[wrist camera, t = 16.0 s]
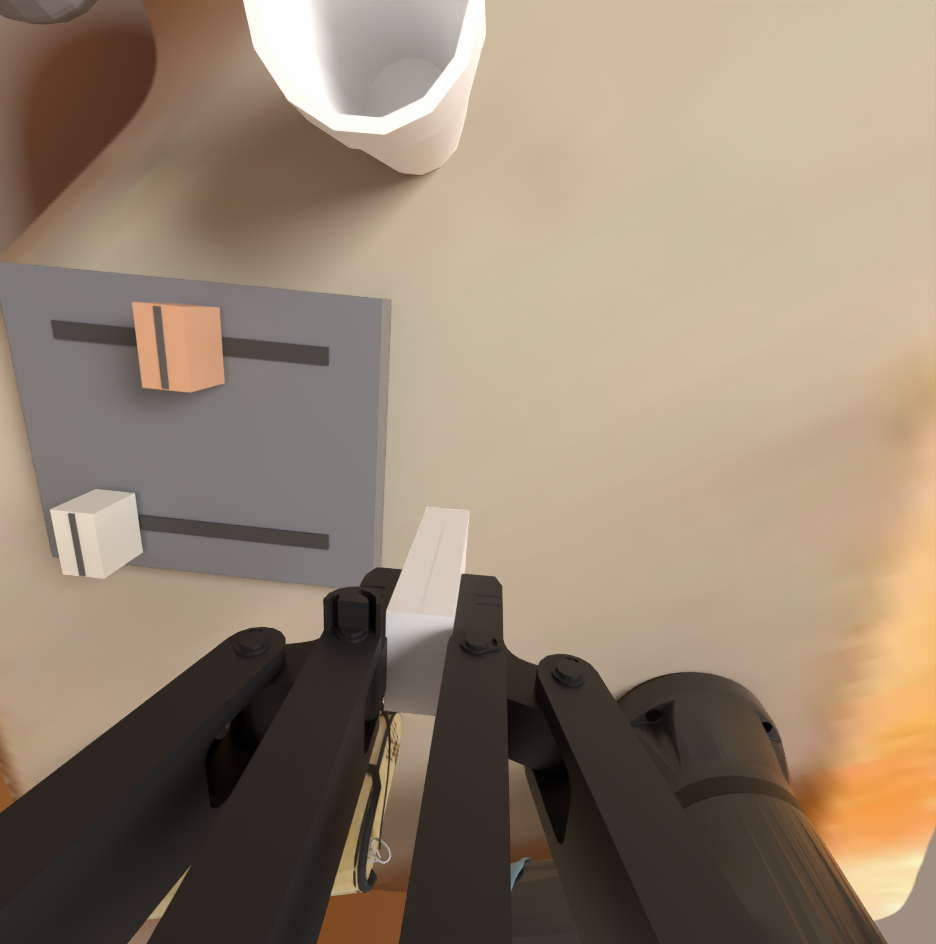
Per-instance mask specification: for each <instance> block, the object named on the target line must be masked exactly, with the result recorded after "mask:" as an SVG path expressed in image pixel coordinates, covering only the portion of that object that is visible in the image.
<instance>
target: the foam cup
mask: <svg viewBox="0 0 936 944" xmlns="http://www.w3.org/2000/svg"><path fill="white" fill-rule="evenodd" d="M243 2H244V6H245V11H246V15H247V20H248V24H249V28H250V33H251V37H252V42H253V46H254V49H255V51H256V52H257V54H258V55H259V57H260V58H261V60H262V61H263V63H264V64H265V66H266V67H267V69H268V71H269V72H270V74H271V75H272V77H273V78H274V80H275V81H276V83H277V84H278V86H279V87H280V89H281V90H282V92H283V94H284V95H285V97H286V98H287V100H288V101H289V102H290V103H291V104H292V105H293V106H294V107H295V108H296V109H297V110H298V111H299V112H300V113H301V114H302V115H303V116H304V117H305V118H306V119H307V120H308V121H309V122H310V123H312V124H313V125H315V126H316V127H318V128H319V129H321V130H323V131H324V132H326V133H327V134H329V135H330V136H332V137H333V138H335V139H336V140H338V141H339V142H341V143H343V144H344V145H346V146H347V147H349V148H352V149H361V150H363V151H364V152H366V153H368V154H369V155H371V156H373V157H374V158H376V159H378V160H379V161H381V162H383V163H384V164H386V165H388V166H389V167H391V168H393V169H394V170H396V171H398V172H400V173H403V174H415V175H424V174H426V173H428V172H431V171H433V170H435V169H437V168H439V167H442V166H443V165H444V164H445V162H446V161H447V160H448V159H449V157H450V156H451V155H452V154H453V152H454V151H455V150H456V149H457V147H458V143H459V139H460V136H461V132H462V128H463V125H464V121H465V116H466V111H467V106H468V100H469V95H470V91H471V87H472V84H473V80H474V76H475V73H476V69H477V65H478V61H479V58H480V54H481V50H482V46H483V43H484V39H485V35H486V26H485V0H243Z"/></svg>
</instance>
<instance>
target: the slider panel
mask: <svg viewBox="0 0 936 944" xmlns="http://www.w3.org/2000/svg"><path fill="white" fill-rule="evenodd" d="M0 301H1V306H2V311H3V316H4V321H5V326H6V330H7V335H8V340H9V345H10V350H11V355H12V360H13V365H14V370H15V375H16V380H17V384H18V389H19V394H20V399H21V404H22V409H23V414H24V419H25V424H26V429H27V434H28V439H29V443H30V448H31V453H32V458H33V463H34V468H35V473H36V478H37V483H38V488H39V493H40V498H41V502H42V507H43V512H44V517H45V522H46V527H47V532H48V537H49V542H50V547H51V552H52V556H53V557H59V553H58V548H57V543H56V538H55V533H54V528H53V523H52V518H51V513H50V509H52V508H54V507H57V506H59V505H61V504H63V503H65V502H68V501H70V500H72V499H74V498H77V497H79V496H81V495H83V494H86V493H88V492H90V491H92V490H95V489H101V490H110V491H120V492H129V493H135V498H136V505H137V513H138V520H139V527H140V535H141V542H142V549H143V553H141V554H140V555H138V556H137V557H135V558H134V559H132V560H131V561H129V562H128V563H126V564H125V565H133V566H142V567H151V568H160V569H169V570H179V571H188V572H197V573H206V574H215V575H224V576H233V577H243V578H252V579H261V580H270V581H279V582H288V583H298V584H307V585H316V586H325V587H334V588H345V587H355V586H360V584H361V582H362V580H363V578H364V576H365V575H366V574H367V573H369V572H370V571H372V570H373V569H375V568H376V567H381V556H382V530H383V505H384V479H385V454H386V428H387V403H388V377H389V352H390V326H391V301H392V300H388V299H378V298H368V297H358V296H347V295H337V294H327V293H316V292H306V291H296V290H286V289H275V288H265V287H255V286H244V285H234V284H224V283H213V282H203V281H193V280H182V279H172V278H162V277H151V276H141V275H131V274H121V273H110V272H100V271H90V270H79V269H69V268H59V267H48V266H38V265H28V264H17V263H7V262H0ZM132 302H160V303H181V304H191V305H202V306H212V307H220V321H221V336H222V351H223V365H224V380H225V383H224V384H220V385H217V386H213V387H209V388H205V389H202V390H198V391H194V392H180V391H170V390H160V389H151V388H142V381H141V373H140V364H139V356H138V348H137V340H136V332H135V323H134V315H133V307H132Z"/></svg>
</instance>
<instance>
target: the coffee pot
mask: <svg viewBox="0 0 936 944" xmlns="http://www.w3.org/2000/svg"><path fill="white" fill-rule="evenodd" d="M96 1H97V0H0V15H2V16H4V17H7V18H10V19H14V20H19V21H24V22H28V23H33V24H52V23H60V22H68V21H70V20H72V19H74V18H76V17H78V16H80V15H82V14H84V13H85V12H87V11H88V10H89V9H90V8H91V7H92V6H93V5H94V4H95V3H96Z"/></svg>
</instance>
